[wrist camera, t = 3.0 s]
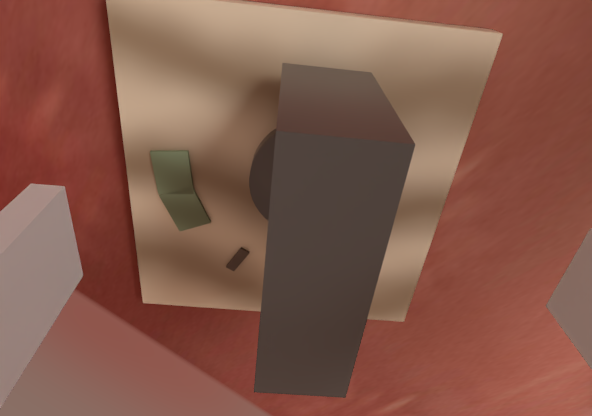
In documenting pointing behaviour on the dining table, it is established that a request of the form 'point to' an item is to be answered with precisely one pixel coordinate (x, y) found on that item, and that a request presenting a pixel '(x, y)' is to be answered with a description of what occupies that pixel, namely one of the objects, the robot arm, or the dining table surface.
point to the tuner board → (262, 120)
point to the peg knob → (324, 224)
